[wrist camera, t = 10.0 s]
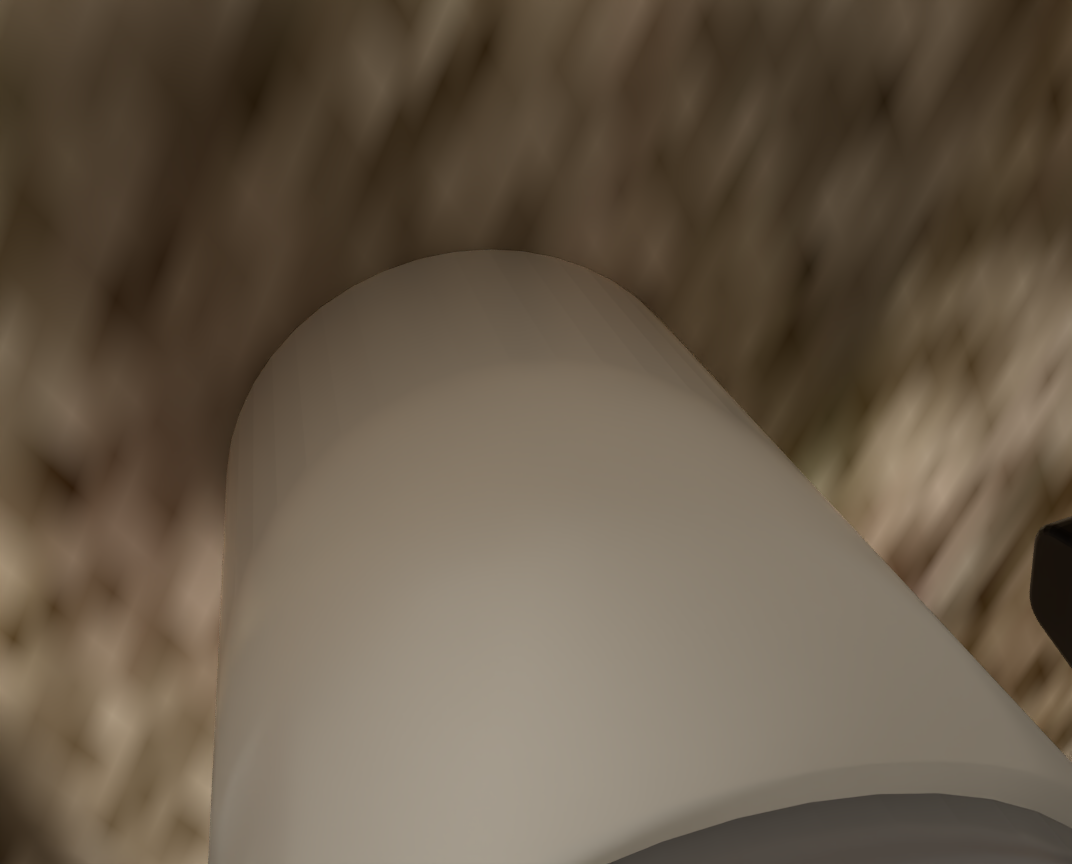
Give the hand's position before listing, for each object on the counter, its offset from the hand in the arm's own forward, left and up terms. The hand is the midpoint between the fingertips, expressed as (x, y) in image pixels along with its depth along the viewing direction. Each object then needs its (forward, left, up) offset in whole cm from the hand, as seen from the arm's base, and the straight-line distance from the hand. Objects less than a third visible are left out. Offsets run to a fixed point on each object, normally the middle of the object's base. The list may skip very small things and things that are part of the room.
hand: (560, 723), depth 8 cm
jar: (0, 0, -4) cm, 4 cm away
